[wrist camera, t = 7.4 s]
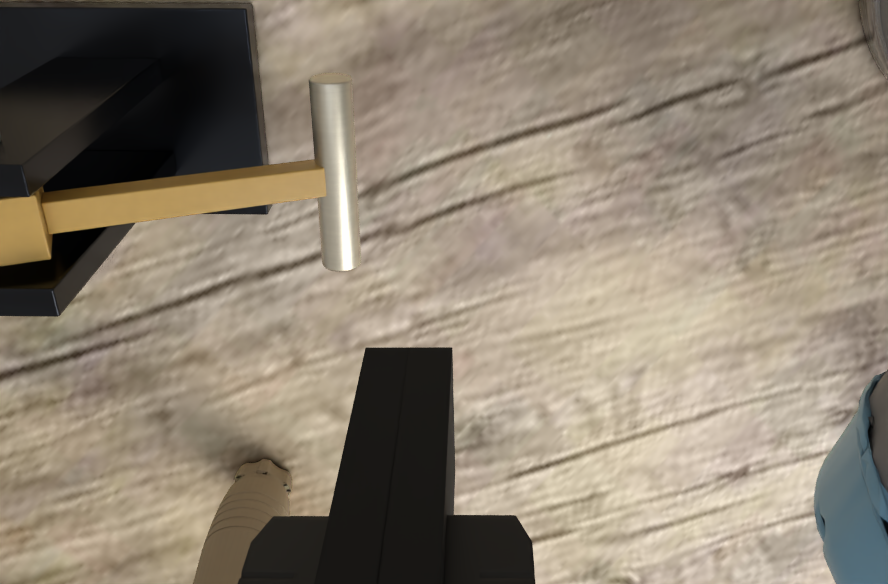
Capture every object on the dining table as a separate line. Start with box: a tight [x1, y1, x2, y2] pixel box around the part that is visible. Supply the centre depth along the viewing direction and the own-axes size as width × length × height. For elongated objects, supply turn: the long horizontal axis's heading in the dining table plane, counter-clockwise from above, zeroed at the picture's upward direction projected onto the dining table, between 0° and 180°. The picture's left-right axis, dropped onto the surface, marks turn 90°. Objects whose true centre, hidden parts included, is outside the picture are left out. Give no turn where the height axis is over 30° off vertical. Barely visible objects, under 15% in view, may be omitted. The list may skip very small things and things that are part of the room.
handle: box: [193, 459, 292, 584], centre depth 41 cm, size 5×6×15 cm
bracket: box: [0, 2, 272, 316], centre depth 31 cm, size 12×9×14 cm
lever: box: [0, 73, 361, 272], centre depth 28 cm, size 13×7×2 cm, turn 90°
